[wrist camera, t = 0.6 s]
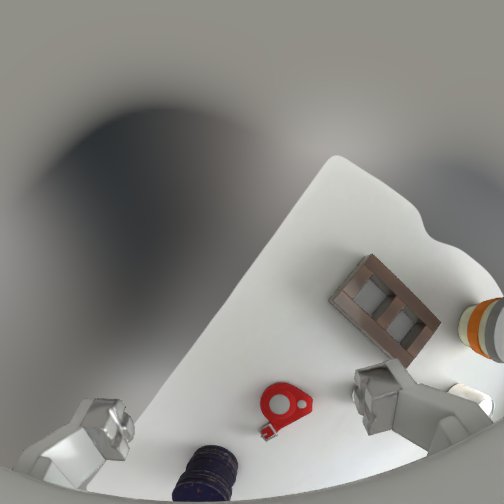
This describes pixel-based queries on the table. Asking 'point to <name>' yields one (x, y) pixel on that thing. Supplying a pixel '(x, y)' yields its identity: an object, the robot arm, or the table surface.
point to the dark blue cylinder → (207, 476)
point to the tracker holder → (283, 407)
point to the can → (474, 397)
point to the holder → (386, 310)
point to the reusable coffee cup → (484, 329)
